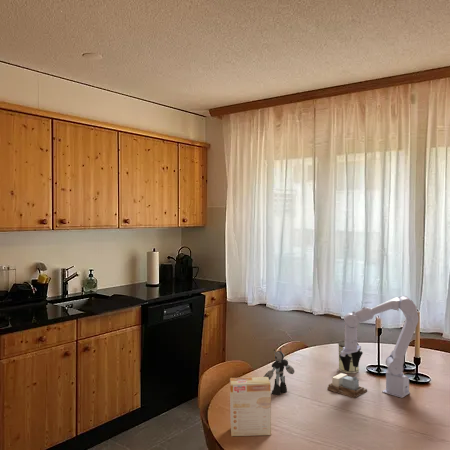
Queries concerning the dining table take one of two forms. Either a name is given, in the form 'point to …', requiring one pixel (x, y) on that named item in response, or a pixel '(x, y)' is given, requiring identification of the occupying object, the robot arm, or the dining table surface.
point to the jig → (347, 390)
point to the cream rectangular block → (338, 379)
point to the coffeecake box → (250, 406)
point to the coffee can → (352, 368)
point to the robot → (279, 373)
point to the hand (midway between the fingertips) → (351, 368)
